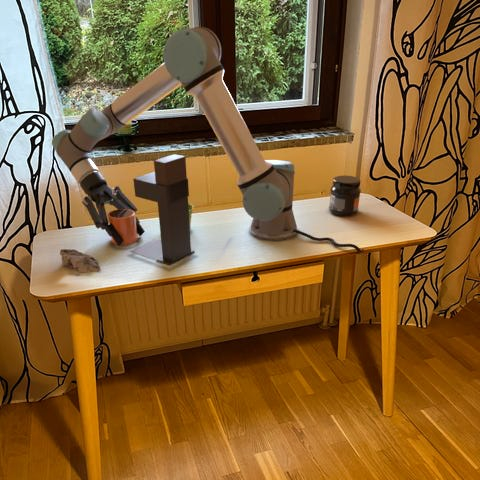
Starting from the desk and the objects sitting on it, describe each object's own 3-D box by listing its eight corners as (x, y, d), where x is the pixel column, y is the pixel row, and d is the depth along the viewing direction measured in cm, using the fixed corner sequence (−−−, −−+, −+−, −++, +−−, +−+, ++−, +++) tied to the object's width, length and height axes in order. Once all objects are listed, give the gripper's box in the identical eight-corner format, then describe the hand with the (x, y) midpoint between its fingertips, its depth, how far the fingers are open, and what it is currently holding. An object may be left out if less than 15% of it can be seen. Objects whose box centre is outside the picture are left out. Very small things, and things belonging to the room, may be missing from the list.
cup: (142, 239, 162) (138, 209, 157) (132, 250, 156) (128, 219, 150) (118, 237, 164) (114, 207, 158) (107, 247, 157) (103, 217, 152)
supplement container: (362, 210, 184) (366, 177, 178) (351, 219, 177) (355, 185, 170) (335, 205, 189) (338, 173, 182) (323, 213, 181) (326, 180, 175)
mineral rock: (105, 273, 142) (103, 259, 140) (78, 281, 138) (75, 266, 136) (85, 255, 152) (83, 242, 150) (59, 262, 148) (56, 248, 146)
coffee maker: (129, 255, 152) (116, 154, 136) (155, 243, 160) (145, 146, 144) (169, 270, 144) (160, 164, 128) (194, 256, 151) (189, 155, 135)
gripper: (110, 176, 166) (150, 233, 167) (57, 193, 151) (101, 255, 152) (119, 163, 160) (160, 222, 161) (65, 179, 146) (110, 243, 147)
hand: (131, 238), depth 157 cm, fingers closed on cup, 8 cm apart
